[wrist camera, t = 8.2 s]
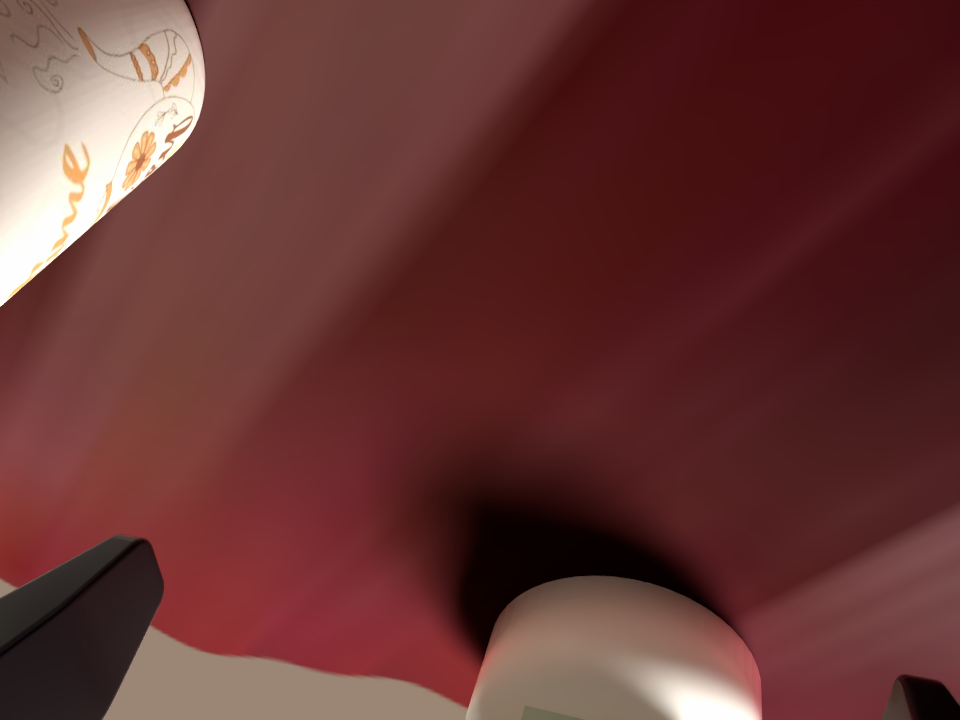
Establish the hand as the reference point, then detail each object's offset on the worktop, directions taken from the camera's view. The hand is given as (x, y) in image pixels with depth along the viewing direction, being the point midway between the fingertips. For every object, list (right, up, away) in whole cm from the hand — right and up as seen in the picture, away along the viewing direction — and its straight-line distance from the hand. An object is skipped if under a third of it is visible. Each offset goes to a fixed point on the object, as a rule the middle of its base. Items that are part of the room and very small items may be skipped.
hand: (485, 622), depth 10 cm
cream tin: (+5, -7, +18) cm, 20 cm away
